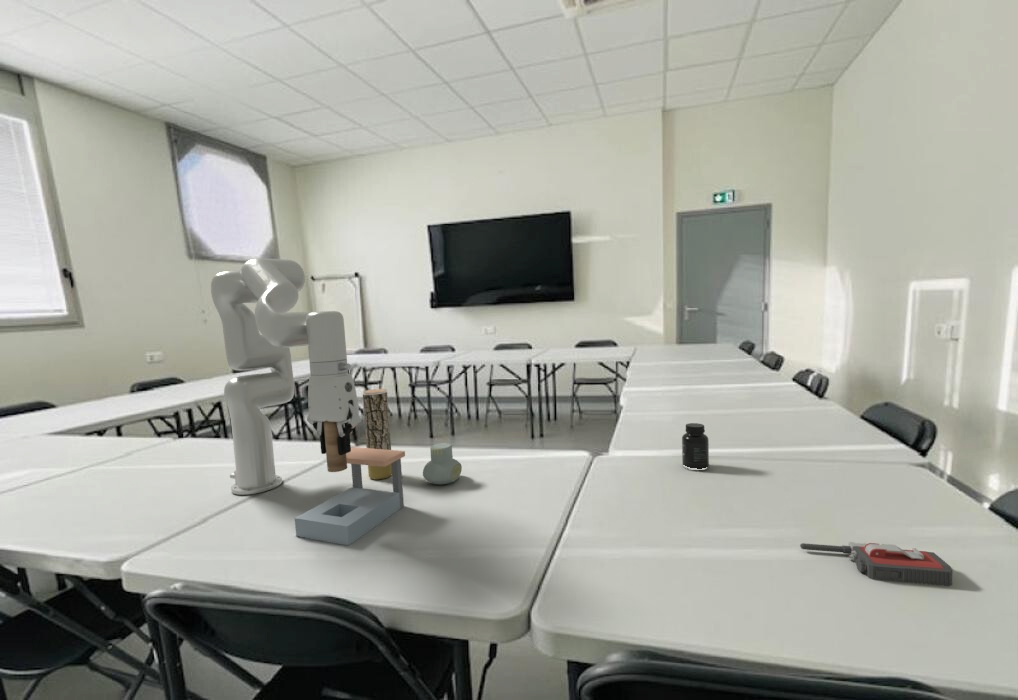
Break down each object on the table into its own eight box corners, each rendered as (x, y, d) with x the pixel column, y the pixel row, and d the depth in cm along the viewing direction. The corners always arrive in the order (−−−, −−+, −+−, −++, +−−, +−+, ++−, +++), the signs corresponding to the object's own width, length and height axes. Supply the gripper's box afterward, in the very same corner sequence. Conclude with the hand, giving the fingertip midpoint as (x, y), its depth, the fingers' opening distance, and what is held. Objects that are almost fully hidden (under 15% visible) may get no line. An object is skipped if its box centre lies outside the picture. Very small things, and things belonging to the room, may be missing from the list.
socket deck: (292, 535, 99) (287, 473, 98) (355, 499, 118) (351, 446, 117) (352, 546, 94) (347, 480, 92) (408, 505, 112) (404, 451, 111)
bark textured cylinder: (386, 480, 130) (380, 393, 128) (364, 480, 132) (357, 393, 130) (396, 472, 137) (391, 388, 135) (375, 471, 138) (369, 389, 136)
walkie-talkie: (929, 560, 80) (798, 550, 85) (930, 535, 79) (798, 526, 84) (964, 590, 71) (816, 577, 76) (965, 563, 71) (816, 551, 76)
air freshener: (447, 489, 121) (445, 452, 121) (420, 487, 124) (417, 451, 123) (465, 475, 132) (463, 441, 131) (439, 473, 134) (436, 439, 134)
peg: (336, 465, 103) (332, 412, 102) (351, 466, 102) (346, 412, 101) (323, 471, 100) (318, 416, 99) (338, 472, 98) (333, 417, 97)
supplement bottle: (680, 463, 133) (679, 422, 132) (705, 463, 132) (704, 421, 131) (685, 471, 126) (684, 428, 125) (712, 471, 125) (711, 428, 124)
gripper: (372, 366, 100) (378, 449, 101) (312, 367, 106) (319, 445, 107) (348, 371, 93) (355, 460, 94) (285, 371, 99) (293, 455, 100)
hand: (336, 451), depth 100 cm, fingers closed on peg, 4 cm apart
